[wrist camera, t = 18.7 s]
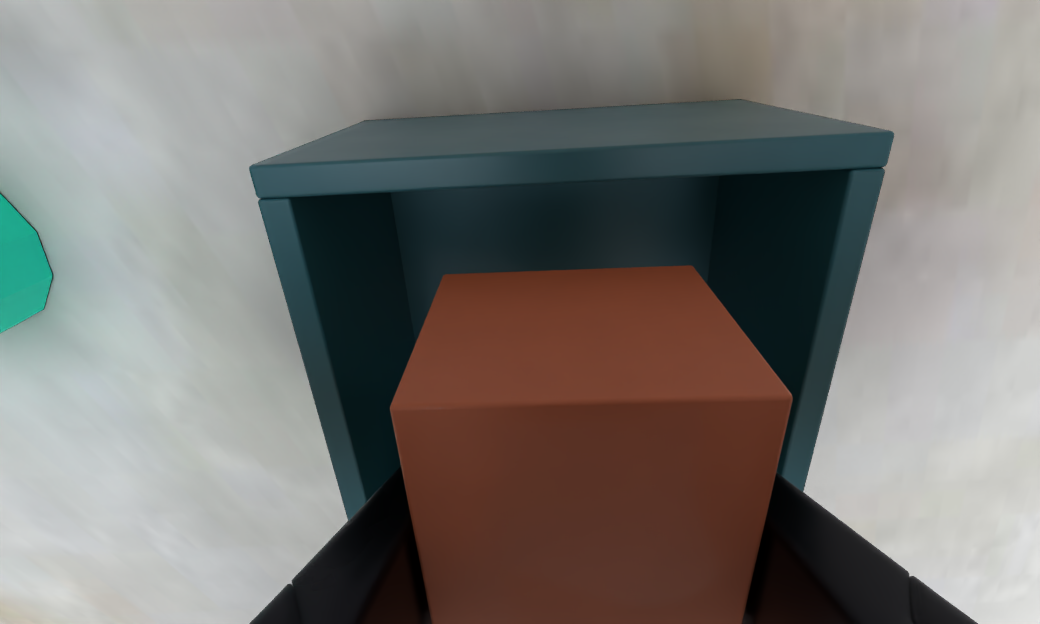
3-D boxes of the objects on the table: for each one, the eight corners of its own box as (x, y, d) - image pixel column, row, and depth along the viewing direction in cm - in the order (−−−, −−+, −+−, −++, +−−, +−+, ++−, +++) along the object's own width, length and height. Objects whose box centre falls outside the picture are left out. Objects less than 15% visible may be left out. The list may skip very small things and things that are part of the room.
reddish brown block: (666, 508, 12) (725, 704, 8) (471, 512, 12) (446, 705, 8) (693, 263, 9) (795, 396, 6) (442, 273, 9) (387, 407, 6)
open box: (789, 549, 13) (897, 130, 8) (358, 558, 13) (246, 166, 9) (705, 388, 19) (742, 98, 15) (413, 397, 20) (363, 120, 15)
